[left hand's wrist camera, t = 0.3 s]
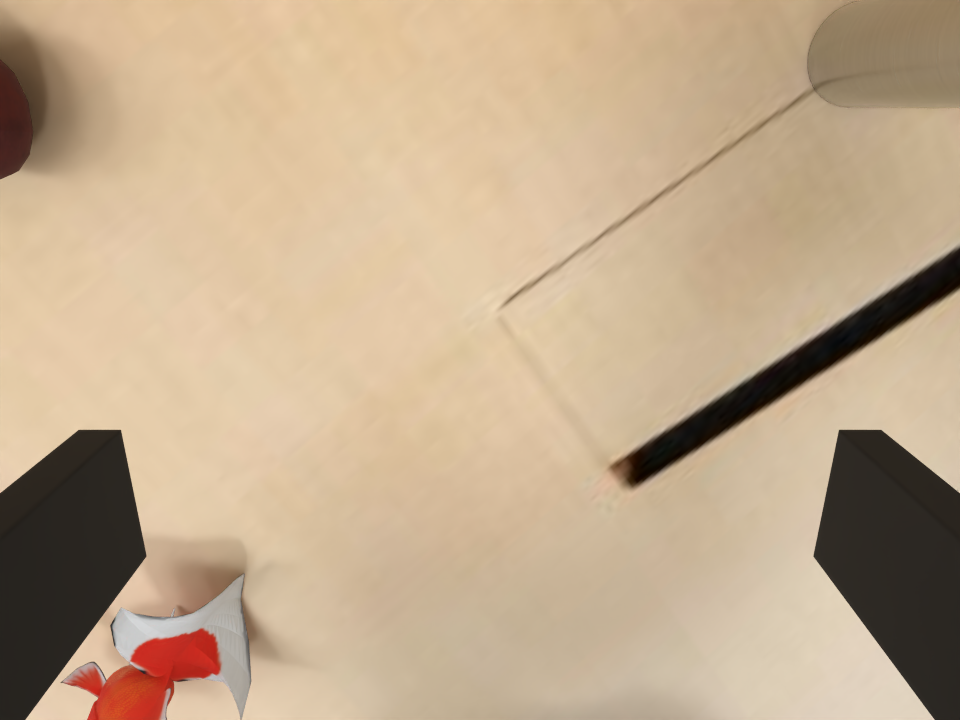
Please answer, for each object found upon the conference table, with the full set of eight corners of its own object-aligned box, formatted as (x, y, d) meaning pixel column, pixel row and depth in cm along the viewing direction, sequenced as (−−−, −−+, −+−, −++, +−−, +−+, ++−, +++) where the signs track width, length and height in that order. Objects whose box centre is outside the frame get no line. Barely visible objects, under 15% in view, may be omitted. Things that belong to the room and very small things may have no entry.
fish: (-7, 654, 45) (-11, 782, 38) (194, 501, 49) (228, 589, 41) (107, 717, 52) (123, 836, 44) (277, 578, 56) (320, 666, 48)
